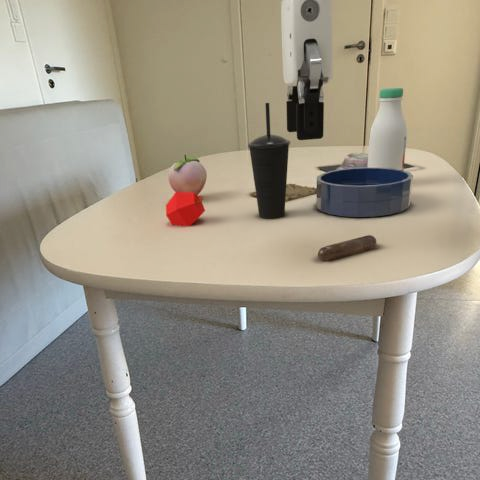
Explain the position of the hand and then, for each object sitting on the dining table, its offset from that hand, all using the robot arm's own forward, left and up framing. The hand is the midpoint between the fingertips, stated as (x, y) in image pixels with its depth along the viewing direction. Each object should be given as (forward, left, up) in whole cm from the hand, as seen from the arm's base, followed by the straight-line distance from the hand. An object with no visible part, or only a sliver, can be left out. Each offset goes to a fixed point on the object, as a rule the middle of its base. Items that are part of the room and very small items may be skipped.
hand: (303, 134), depth 59 cm
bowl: (-24, -15, -17) cm, 32 cm away
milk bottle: (-39, -25, -17) cm, 49 cm away
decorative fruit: (0, -47, -17) cm, 50 cm away
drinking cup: (-7, -21, -17) cm, 28 cm away
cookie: (-19, -35, -17) cm, 43 cm away
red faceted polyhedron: (+8, -28, -17) cm, 34 cm away
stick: (-5, +4, -17) cm, 18 cm away
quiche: (-50, -43, -17) cm, 69 cm away
